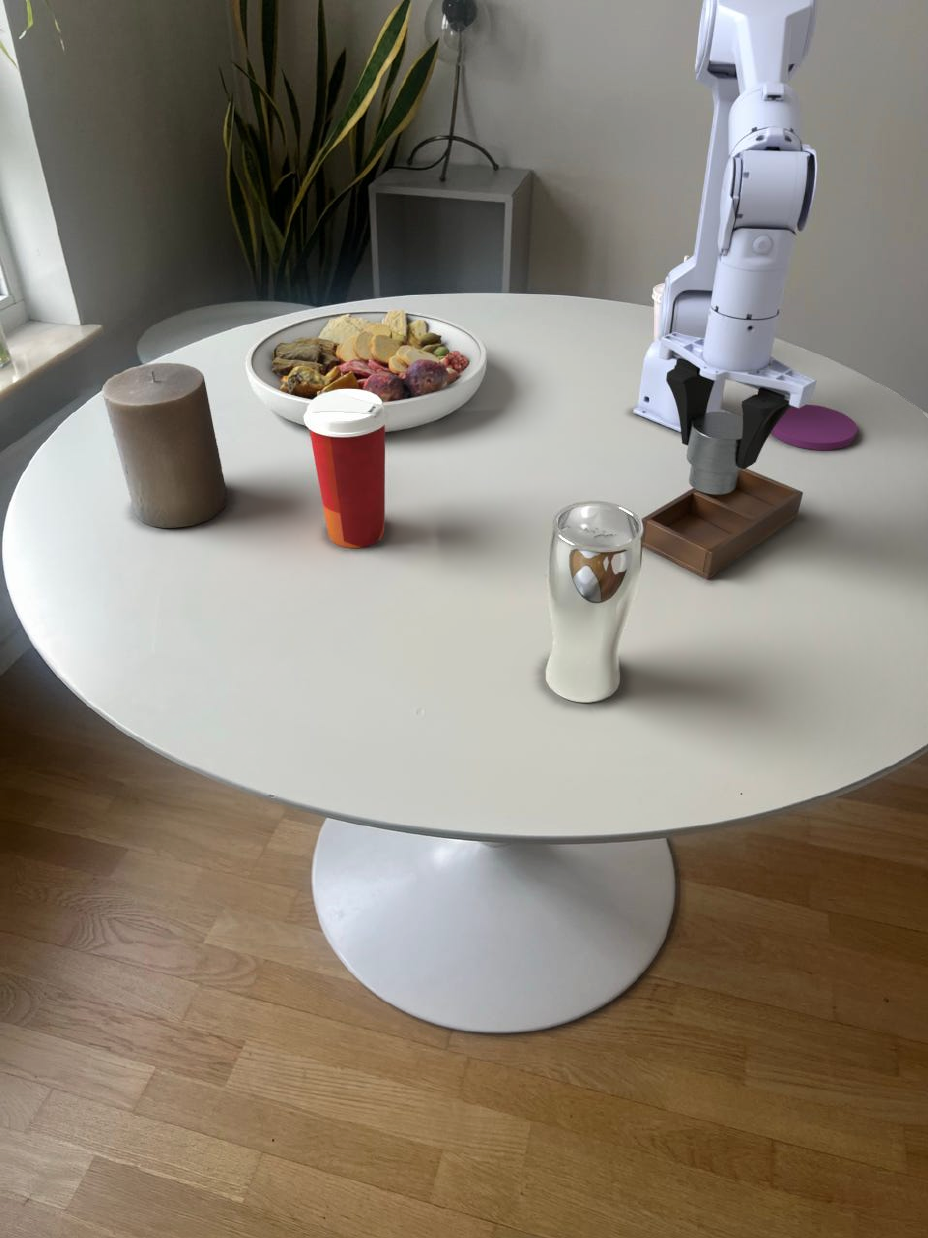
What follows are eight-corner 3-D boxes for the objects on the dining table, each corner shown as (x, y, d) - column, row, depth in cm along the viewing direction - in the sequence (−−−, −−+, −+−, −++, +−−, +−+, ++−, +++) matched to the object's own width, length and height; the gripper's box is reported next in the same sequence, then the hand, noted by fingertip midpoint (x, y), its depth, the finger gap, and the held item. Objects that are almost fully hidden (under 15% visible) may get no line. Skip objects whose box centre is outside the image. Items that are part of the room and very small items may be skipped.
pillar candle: (245, 504, 98) (222, 369, 89) (163, 541, 93) (129, 401, 83) (196, 471, 103) (169, 341, 94) (115, 504, 98) (78, 369, 89)
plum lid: (751, 429, 111) (752, 421, 110) (795, 403, 116) (797, 396, 116) (827, 459, 105) (829, 451, 105) (870, 430, 111) (873, 423, 110)
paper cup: (406, 520, 96) (400, 392, 87) (376, 560, 90) (367, 428, 81) (336, 506, 98) (324, 381, 89) (303, 545, 92) (286, 415, 83)
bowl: (206, 386, 121) (195, 327, 116) (387, 327, 136) (385, 272, 131) (345, 472, 103) (339, 406, 98) (534, 393, 119) (537, 333, 114)
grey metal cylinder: (670, 482, 89) (679, 424, 85) (705, 462, 92) (715, 405, 88) (720, 504, 85) (731, 446, 82) (754, 483, 88) (767, 425, 85)
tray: (638, 544, 92) (641, 518, 90) (729, 487, 101) (734, 462, 99) (707, 579, 87) (712, 553, 86) (797, 517, 96) (803, 491, 94)
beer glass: (534, 652, 79) (543, 501, 70) (615, 648, 80) (634, 497, 70) (546, 710, 74) (558, 553, 64) (633, 704, 74) (657, 548, 65)
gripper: (646, 296, 80) (629, 439, 88) (796, 345, 72) (761, 497, 80) (695, 277, 84) (674, 416, 92) (843, 321, 76) (805, 469, 84)
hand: (717, 452), depth 87 cm, fingers closed on grey metal cylinder, 5 cm apart
